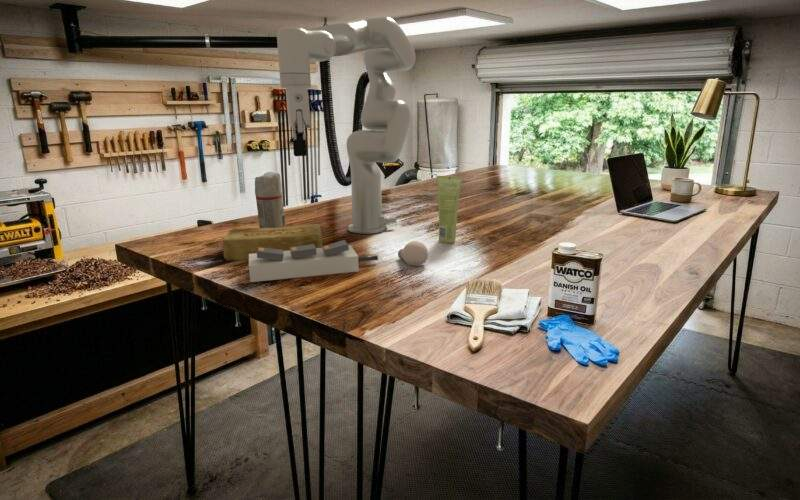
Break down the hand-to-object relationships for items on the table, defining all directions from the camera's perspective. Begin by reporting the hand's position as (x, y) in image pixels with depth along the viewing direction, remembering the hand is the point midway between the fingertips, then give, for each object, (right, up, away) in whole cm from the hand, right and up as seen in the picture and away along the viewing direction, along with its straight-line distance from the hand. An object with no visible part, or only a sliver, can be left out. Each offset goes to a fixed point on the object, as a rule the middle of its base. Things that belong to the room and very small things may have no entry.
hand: (300, 155), depth 132 cm
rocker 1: (-6, -26, -10) cm, 28 cm away
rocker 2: (+2, -25, -8) cm, 26 cm away
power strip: (+5, -29, -4) cm, 30 cm away
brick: (-9, -26, +11) cm, 29 cm away
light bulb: (+29, -28, 0) cm, 41 cm away
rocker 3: (+10, -24, -5) cm, 27 cm away
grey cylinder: (-14, -21, +26) cm, 36 cm away
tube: (+40, -22, +20) cm, 50 cm away
